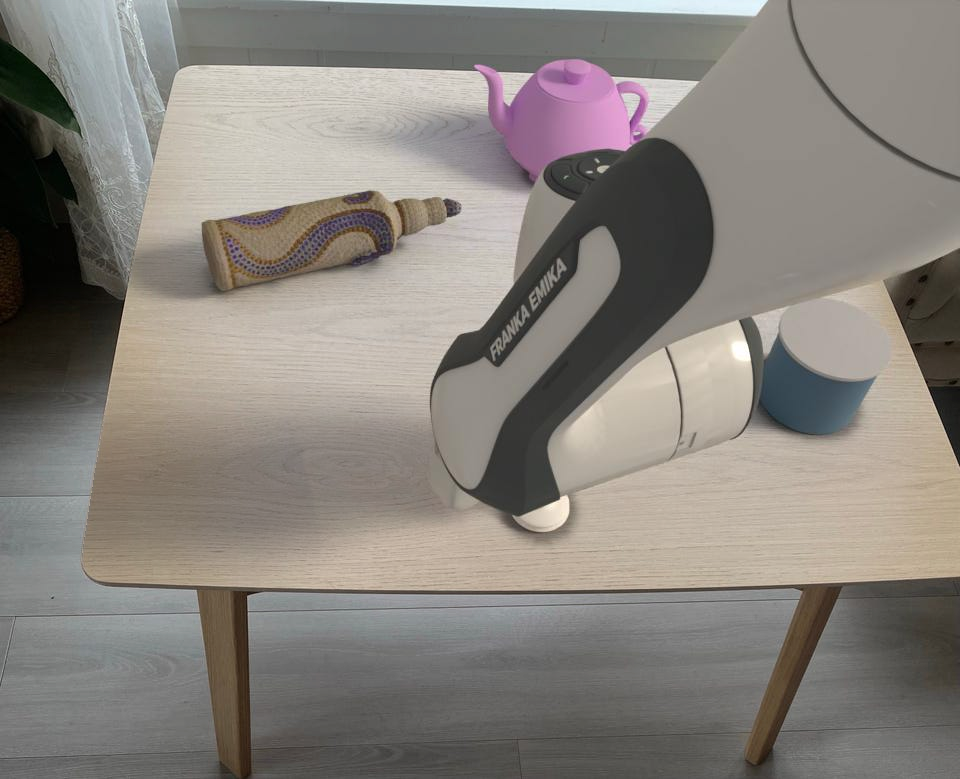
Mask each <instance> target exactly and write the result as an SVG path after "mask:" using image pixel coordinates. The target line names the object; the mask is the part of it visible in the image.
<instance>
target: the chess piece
mask: <svg viewBox="0 0 960 779" xmlns="http://www.w3.org/2000/svg"><path fill="white" fill-rule="evenodd" d="M511 516H512V518H513V519H514V520H515V522H516V523H517V524H518V525H520V526H521V527H522V528H524V529H527V530H529V531H531V532H536V533H547V532H552V531H554V530H557V529H559V528H560V527H561V526H562V525H564V523H565V522H566V521H567V519H568V517H569V516H570V498H569V495H566V496H563V497H560V500H558V501H556V502H553V503H551V504H548V505H546V506H544V507H541V508H539V509H536V510H534V511H532V512H529V513H527V514H524V515H522V516H520V517H517V516H514V515H511Z"/></svg>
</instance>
